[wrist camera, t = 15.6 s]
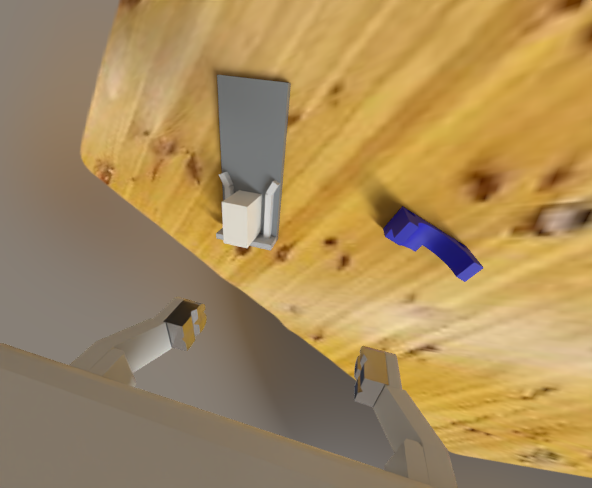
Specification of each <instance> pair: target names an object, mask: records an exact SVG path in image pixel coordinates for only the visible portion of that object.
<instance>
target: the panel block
mask: <svg viewBox="0 0 592 488" xmlns="http://www.w3.org/2000/svg"><path fill="white" fill-rule="evenodd" d="M261 207H262V194H257V193H252V192H247V191H241V190H239V191H237V192H236V193H234V194H233V195H231V196H230V197H228V198H227V199H225V200H224V201H222V219H223V238H224V243H226V244H231V245H235V246H239V247H244V248H248V247H249V245H250V244H251V243H252V242H253V240H254V239H255V238H256V237H257V236H258V234H259V233H260V232H261Z"/></svg>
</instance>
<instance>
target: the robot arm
mask: <svg viewBox="0 0 592 488" xmlns="http://www.w3.org/2000/svg"><path fill="white" fill-rule="evenodd" d="M204 310H205V305H204V304H201V303H198V302H194V301H191V300H188V299H184V298H180V297H176V298H174V299H173V300H172V301H171V302H170V303H169V304H168V305H167V306H166V307H165V308H164V309H163V310H162V311H161V312H160V313H159V314H158V315H157V316H156V317H155V318H154V319H148V320H146V321H143V322H141V323H138V324H136V325H134V326H131V327H129V328H127V329H124V330H122V331H119V332H117V333H115V334H113V335H110V336H108V337H105V338H103V339H101V340H98V341H96V342H95V343H94V344H93V345H92V346H90V347H89V348H88V349H87V350H86V351H85V352H84V353H82V354H81V355H80V356H79V357H78V358H77V359H76V360H74V361H73V362H72V363H71V364H70V365H66V364H63V363H60V362H57V361H54V360H51V359H48V358H45V357H42V356H39V355H36V354H33V353H30V352H27V351H24V350H21V349H18V348H15V347H12V346H10V345H7V344H4V343H0V488H458V487H457V483H456V479H455V475H454V472H453V468H452V464H451V460H450V457H449V453H448V450H447V448H446V447H445V446H444V444H443V443H442V441H441V440H440V439H439V437H438V436H437V434H436V433H435V431H434V430H433V429H432V427H431V426H430V424H429V423H428V422H427V420H426V419H425V417H424V416H423V415H422V413H421V412H420V410H419V409H418V407H417V406H416V405H415V403H414V402H413V400H412V399H411V398H410V396H409V395H408V393H407V392H406V391H405V390H402V385H401V379H400V373H399V367H398V361H397V356H396V355H395V354H392V353H388V352H385V351H382V350H378V349H374V348H370V347H366V346H362V347H361V350H360V356H358V357H357V360H356V364H355V375H354V377H355V379H356V380H357V381H356V383H355V386H354V401H356V402H358V403H362V404H365V405H368V406H371V407H373V409H374V411H375V414H376V416H377V418H378V420H379V422H380V424H381V426H382V428H383V430H384V433H385V435H386V436H387V439H388V441H389V443H390V445H391V447H392V449H393V451H394V455H393V456H392V457H391V458H390V459H389V461H388V462H387V463H386V465H385V470H382V469H379V468H376V467H373V466H370V465H367V464H364V463H361V462H358V461H355V460H352V459H349V458H346V457H343V456H340V455H337V454H334V453H331V452H328V451H325V450H322V449H319V448H316V447H313V446H310V445H307V444H304V443H301V442H298V441H295V440H292V439H289V438H286V437H283V436H280V435H277V434H274V433H271V432H268V431H265V430H262V429H259V428H255V427H253V426H250V425H247V424H243V423H241V422H238V421H235V420H232V419H229V418H226V417H223V416H220V415H217V414H214V413H211V412H208V411H205V410H202V409H199V408H195V407H193V406H190V405H187V404H184V403H181V402H178V401H175V400H172V399H169V398H166V397H163V396H160V395H157V394H154V393H151V392H148V391H145V390H142V389H139V388H136V387H134V386H135V385H136V379H135V377H134V375H133V373H134V372H135V371H136V370H138V369H140V368H141V367H143V366H144V365H146V364H148V363H149V362H151V361H152V360H154V359H156V358H157V357H159V356H160V355H162V354H163V353H165V352H167V351H168V350H170V349H171V348H172V347H173V348H176V349H180V350H184V351H188V350H189V348H190V347H191V345H192V344H193V342H194V341H195V336H196V335H198V334H200V333H201V331H202V330H203V329H204V326H205V324H206V315H205V313H204Z"/></svg>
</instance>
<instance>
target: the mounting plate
mask: <svg viewBox="0 0 592 488" xmlns="http://www.w3.org/2000/svg"><path fill="white" fill-rule="evenodd" d="M217 82H218V102H219V123H220V143H221V164H222V173H221V174H219V177H220V179H221V181H222V184H223V201H224V200H225V199H227V198H228V197H230V196H231V195H233V194H234V193H236V192H237V191H239V190H241V191H247V192H252V193H257V194H262V207H261V232H260V233H259V234H258V236H257V237H256V238H255V239H254V240H253V242H252V243H251V244H250V245H249V246H253V247H258V248H262V249H267V250H271V249H272V248H273V246H274V244H275V243H276V241H277V240H278V231H279V219H280V207H281V195H282V183H283V171H284V158H285V146H286V134H287V122H288V110H289V98H290V85H291V84H290V83H285V82H277V81H268V80H260V79H251V78H242V77H234V76H225V75H217ZM216 237H217V239H222V240H224V238H223V228H222V229H221V230H220V231H218V232H217V233H216Z"/></svg>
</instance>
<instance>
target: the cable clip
mask: <svg viewBox="0 0 592 488" xmlns="http://www.w3.org/2000/svg"><path fill="white" fill-rule="evenodd" d="M383 230H384V235H385V237H387V238H388V239H390V240H392V241H393V242H395V243H396V244H398V245H402V246H405V247H408V248H410V249H412V250H414V251H415V252H416V251H417V250H418V249H419V248H420V247H421V246H422V245H423V246H425V247H426V248H428V249H429V250H431V251H432V252H433V253H434V254H436V255H437V256H438V257H439V258H440V259H441V260H443V261H444V262H445V263H446V264H447V265H448V267H449V268H450V269H451V270H452V271H453V273H454V274H455V275H456V277H458V278H459V279H461V280H463V281H464V282H465V281H467V280H468V279H469V278H471V277H472V276H473V275H475V274H476V273H477V272H479V271H480V270H481V269H483V266H482V265H481V264H480V263H479V261H478V260H477V259H476V258H475V257H474V255H473V254H472V253H471V252H470V250H469V249H468V248H467V247H466V246H465V245H463V244H461V243H460V242H458V241H457V240H455V239H453V238H452V237H450V236H449V235H447V234H446V233H444V232H442V231H441V230H439V229H438V228H436V227H434V226H433V225H431V224H430V223H428V222H426V221H425V220H423V219H422V218H420V217H419V216H417V215H415V214H414V213H412V212H411V211H409V210H407V209H406V208H404V207H402V208H401V209H400V210H399V211H398V212H397V213H396V215H395V216H394V217H393V218H392V219H391V220H390V221H389V222H388V224H387V225H386V226H385V227H384V228H383Z"/></svg>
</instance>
